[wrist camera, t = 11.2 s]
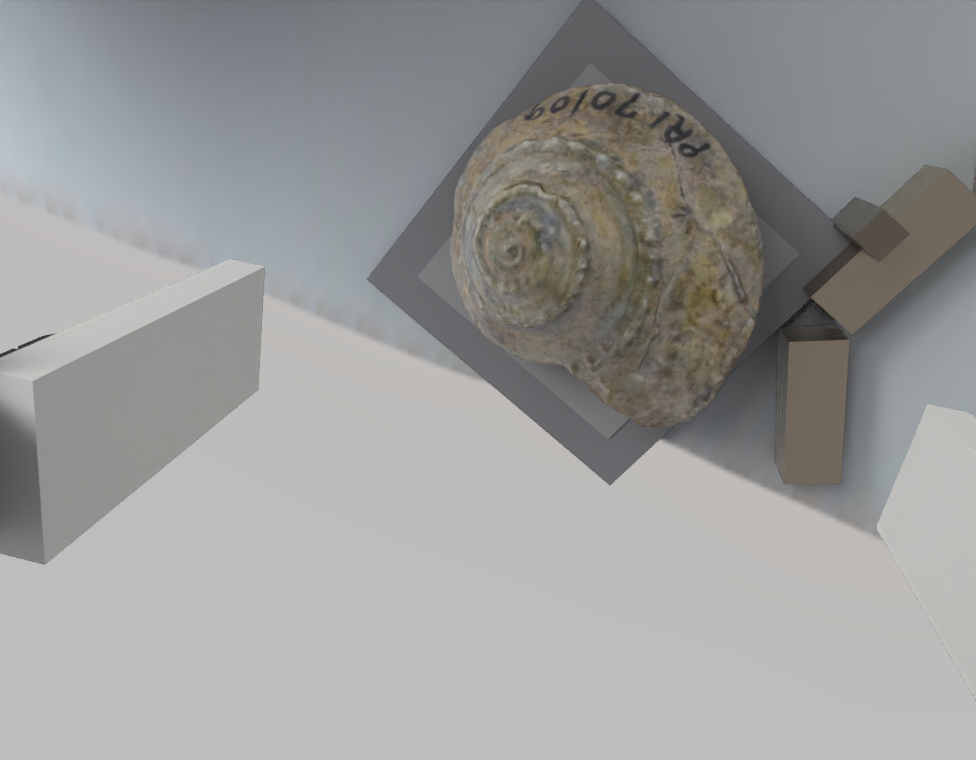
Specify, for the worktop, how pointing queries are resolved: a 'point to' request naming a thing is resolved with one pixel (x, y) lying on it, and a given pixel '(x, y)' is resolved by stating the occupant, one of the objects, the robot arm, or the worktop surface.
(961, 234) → the collar
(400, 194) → the worktop surface
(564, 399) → the mat
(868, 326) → the worktop surface
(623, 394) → the fossilized seashell
